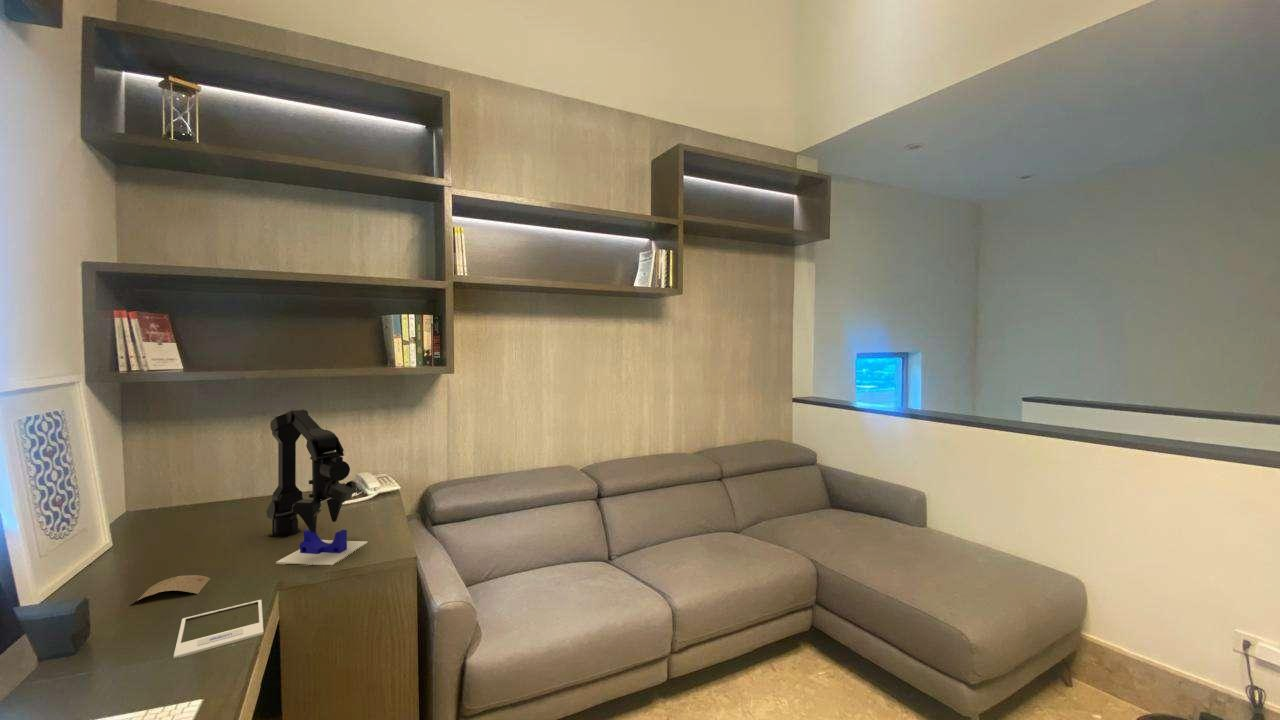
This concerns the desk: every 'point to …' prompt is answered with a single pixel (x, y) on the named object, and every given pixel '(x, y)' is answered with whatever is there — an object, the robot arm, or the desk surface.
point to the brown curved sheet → (178, 585)
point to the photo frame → (218, 635)
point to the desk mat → (321, 555)
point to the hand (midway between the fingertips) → (324, 526)
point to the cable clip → (323, 543)
